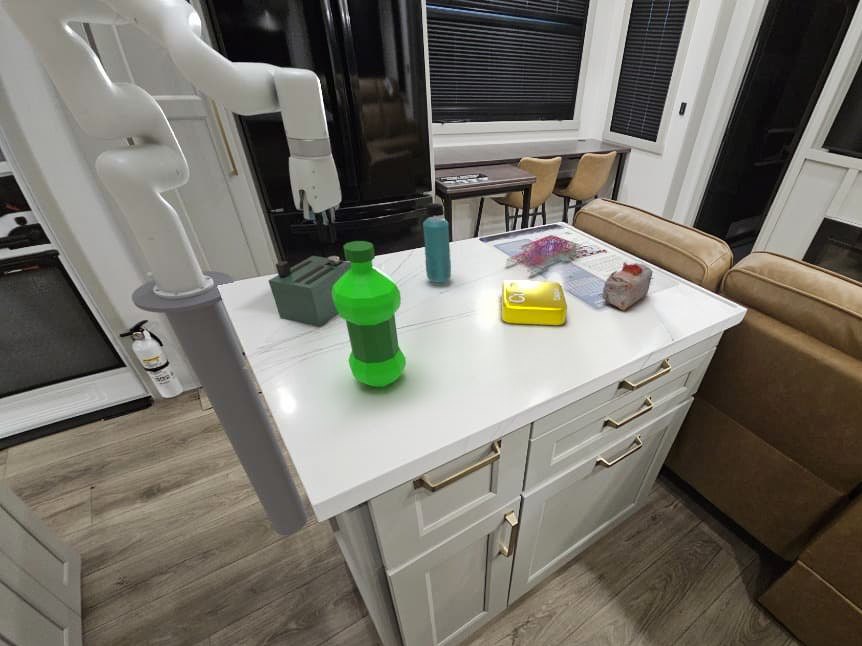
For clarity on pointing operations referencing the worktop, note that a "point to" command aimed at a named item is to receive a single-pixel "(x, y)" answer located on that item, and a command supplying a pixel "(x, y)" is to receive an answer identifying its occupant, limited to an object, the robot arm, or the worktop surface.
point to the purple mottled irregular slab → (535, 255)
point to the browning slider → (283, 268)
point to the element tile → (533, 303)
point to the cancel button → (334, 261)
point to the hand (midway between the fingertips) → (328, 241)
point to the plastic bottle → (369, 317)
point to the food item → (627, 285)
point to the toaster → (308, 291)
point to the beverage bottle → (437, 244)
